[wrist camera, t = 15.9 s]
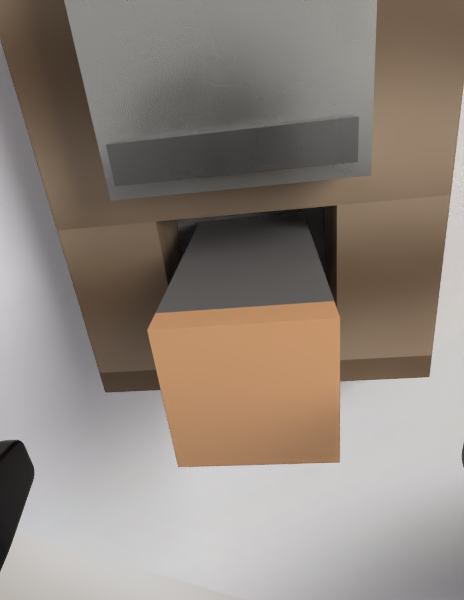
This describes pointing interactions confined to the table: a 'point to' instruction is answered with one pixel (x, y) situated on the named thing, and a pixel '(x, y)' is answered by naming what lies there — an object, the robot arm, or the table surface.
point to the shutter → (226, 91)
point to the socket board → (259, 197)
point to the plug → (250, 347)
